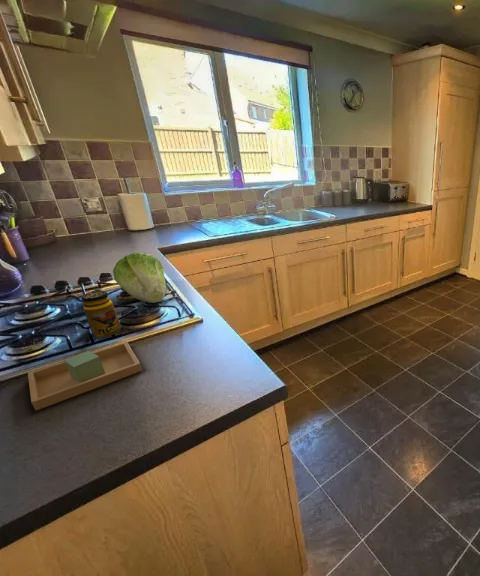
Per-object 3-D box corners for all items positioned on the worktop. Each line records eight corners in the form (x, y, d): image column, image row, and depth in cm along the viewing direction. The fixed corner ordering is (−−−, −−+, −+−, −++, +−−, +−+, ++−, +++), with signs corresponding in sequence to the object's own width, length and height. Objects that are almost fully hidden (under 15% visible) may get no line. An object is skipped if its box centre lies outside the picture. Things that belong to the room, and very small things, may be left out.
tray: (36, 412, 64) (31, 402, 63) (32, 382, 72) (27, 372, 71) (143, 372, 76) (140, 363, 75) (129, 350, 84) (126, 341, 82)
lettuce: (184, 307, 111) (133, 324, 103) (164, 276, 126) (118, 288, 117) (172, 272, 103) (116, 287, 95) (153, 243, 118) (103, 253, 109)
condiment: (115, 339, 88) (101, 299, 83) (78, 342, 86) (62, 301, 81) (128, 325, 94) (116, 287, 89) (95, 328, 92) (80, 289, 88)
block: (81, 384, 71) (73, 367, 69) (71, 377, 73) (63, 360, 71) (105, 372, 74) (99, 356, 72) (95, 366, 76) (88, 350, 74)
